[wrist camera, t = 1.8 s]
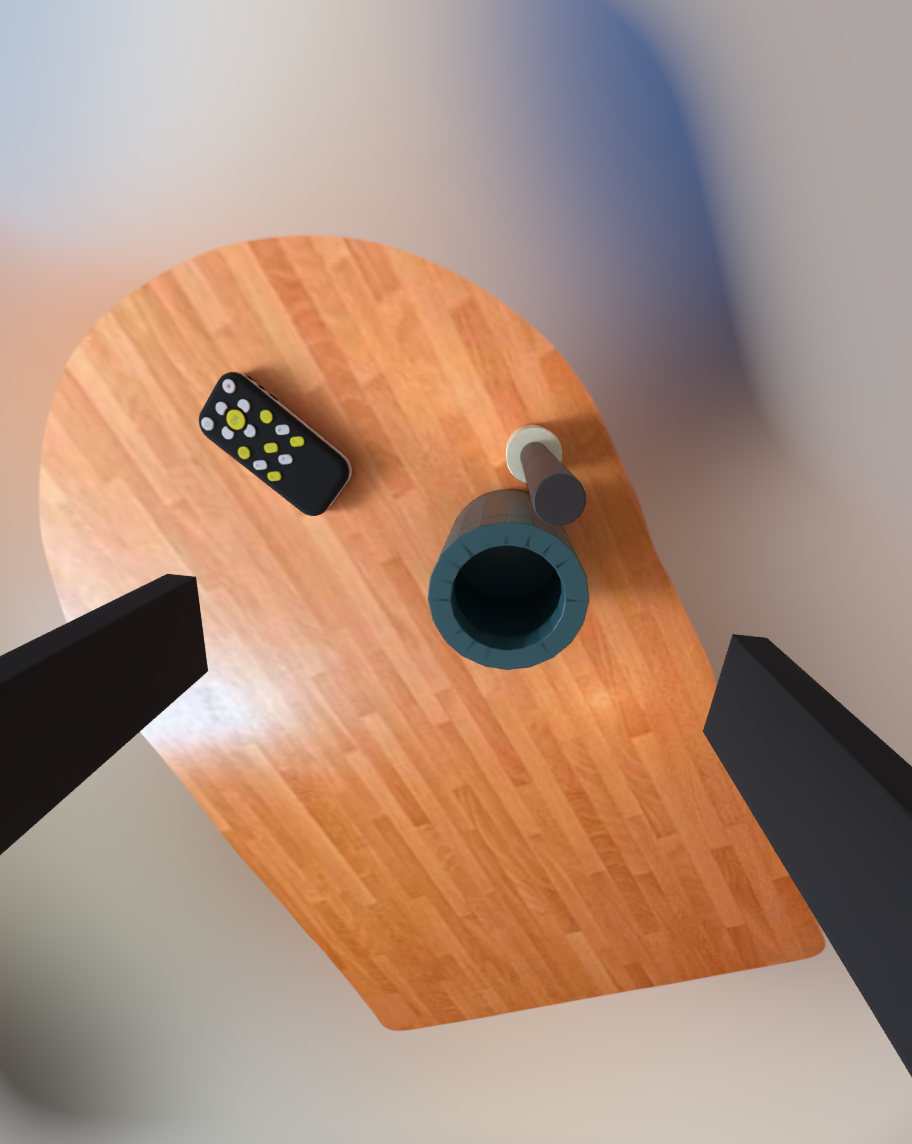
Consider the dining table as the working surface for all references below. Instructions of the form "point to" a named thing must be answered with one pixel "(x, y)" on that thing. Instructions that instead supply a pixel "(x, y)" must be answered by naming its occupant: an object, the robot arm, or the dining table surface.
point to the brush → (545, 475)
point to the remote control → (274, 444)
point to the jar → (507, 584)
